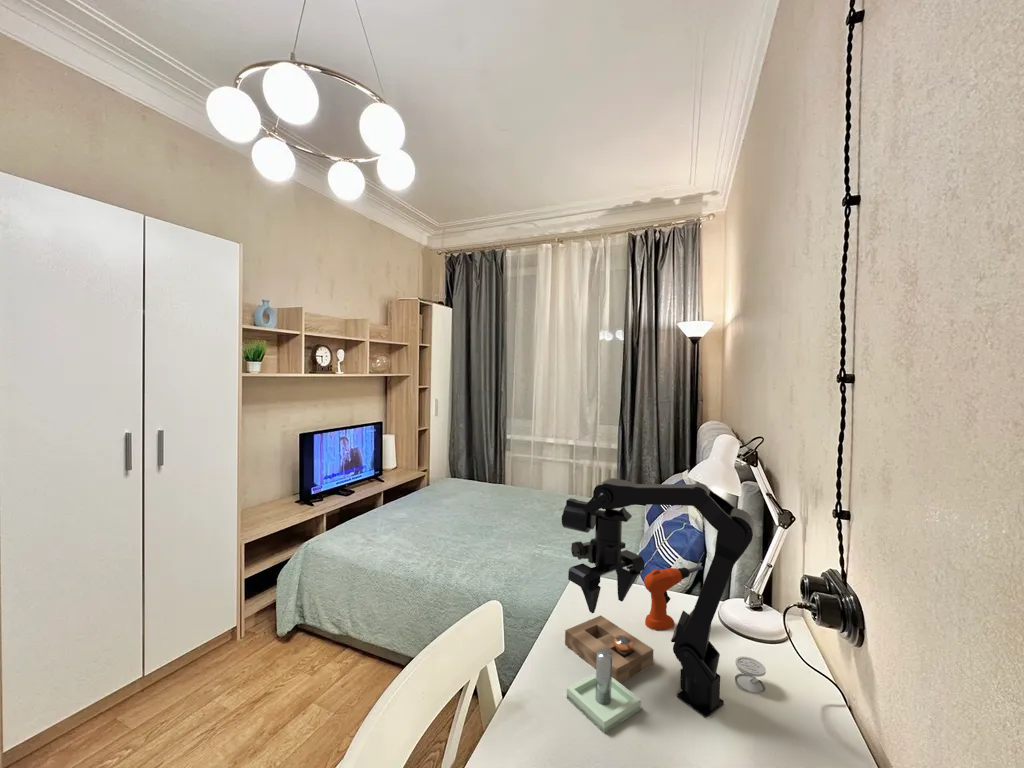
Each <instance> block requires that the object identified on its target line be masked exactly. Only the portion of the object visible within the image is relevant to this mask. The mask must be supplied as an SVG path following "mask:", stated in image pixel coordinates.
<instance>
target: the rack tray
mask: <svg viewBox="0 0 1024 768" xmlns="http://www.w3.org/2000/svg"><path fill="white" fill-rule="evenodd" d="M595 694H596V672H595V673H593V674H591V675H589V676H587V677H585V678H583V679H581V680H580V681H578V682H576V683H574V684H572V685H570V686H568V687H566V699H567V698H568V699H569V702H571V704H572V705H573V706H575V707H576V708H577V709H578V710H579V711H580V712H581V713H582V714H583V715H584V716H585V717H586V718H587V719H588V720H590V722H592V723H593V725H595V726H596V727H597V728H598V729H599V730H600V731H601V732H602V733H603V734H605V733H606V732H608V731H610V730H611V729H613V728H615V727H616V726H618V725H619V724H621V723H622V722H624V721H625V720H627V719H629V718H630V717H632V716H634V715H635V714H637V712H639V711H641V710H642V709H641V704H642V703H641V701H642V700H641V698H639V697H638V696H637V695H636V694H634V693H633V692H632V691H631V690H629V689H628V688H627V687H626V686H624V685H623V684H622V683H619V682H618V681H616V680H615V679H614V678H613V677H612V685H611V703H610V704H609V705H601V704H599V703H598V702H597V701H596V699H595ZM568 699H567V700H568Z"/></svg>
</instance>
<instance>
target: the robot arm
mask: <svg viewBox="0 0 1024 768" xmlns="http://www.w3.org/2000/svg"><path fill="white" fill-rule="evenodd" d="M635 505H652V506H655V505H656V506H682V507H683V506H685V507H686V506H689V507H693V508H695V509H696V510H697V511H698V512H699V513H700V514H701V515H702V517H703V518H704V519H705V520H706V521H707V522H708V524H709V525H711V527H712V528H714V530H716V531H717V533H716V541H715V546H714V547H715V549H714V554H713V558H712V561H711V563H710V566H709V568H708V571H707V573H706V576H705V579H704V581H703V584H702V587H701V589H700V592H699V595H698V597H697V600H696V603H695V605H694V608H692V610H691V612H690V613H688V612H686V611H685V610H682V612H681V614H680V616H679V620H678V622H677V625H676V627H675V628H674V629H675V630H674V632H673V634H672V637H671V640H670V642H671V643H673V645H672V646H673V647H672V652H673V654H674V657H675V658H676V659H677V660H678V661H679V662H680V665H681V668H680V682H679V683H680V685H679V687H680V688H679V689H680V691H679V692H677V693H676V696H677V698H678V699H679V700H681V701H682V702H684V703H685V704H686V705H688V706H689V707H690V708H692V710H695V711H696V712H697V713H699V714H700V715H702V716H703V717H704V718H708V717H710V716H711V715H712V714H714V713H715V712H716V711H718V710H719V709H720V708H721V707H723V706H725V701H724V700H723V699H722V698H721V675H720V674H719V673H717V671H718V666H719V661H720V656H721V654H720V652H719V650H718V649H716V648H715V646H714V645H713V643H711V641H710V636H711V629H712V622H713V619H714V617H715V614H716V613H717V609H718V606H719V604H720V602H721V599H722V597H723V594H724V591H725V590H726V589H725V588H726V586H727V584H728V582H729V579H730V576H731V573H732V571H733V568H734V566H735V564H736V563H737V562H738V561H739V559H740V558H741V557H742V556H743V554H744V553H745V551H746V550H747V549H748V547H749V545H750V544H751V542H752V540H753V536H754V532H755V531H754V530H755V521H754V519H753V518H752V516H751V514H749V513H748V511H745V510H744V509H741V508H736V507H735V506H733V505H732V504H731V503H730V501H728V500H726V499H725V498H723V497H722V496H720V495H719V494H717V493H716V492H714V491H713V490H711V488H709V487H708V486H707V485H706V484H704V483H699V482H696V483H693V484H690V483H689V484H686V483H683V484H681V483H680V484H677V483H674V484H670V483H669V484H668V483H667V484H666V483H663V484H660V483H657V484H656V483H654V484H653V483H650V484H649V483H643V484H642V483H636V482H635V483H634V482H632V481H628V480H625V479H619V478H613V477H611V478H607V479H606V480H604V481H601V482H600V483H599V484H597V485H596V486H595V487H594V489H593V492H592V497H591V499H589V501H583V500H578V499H575V498H571V497H570V498H568V499H566V503H565V506H564V509H563V511H562V515H561V525H562V527H563V528H565V529H569V530H573V531H578V532H581V533H587V534H588V533H589V532H590V531H591V530H594V529H595V531H594V532H595V534H594V535H595V536H594V537H593V538H591V539H590V540H589V541H585V542H582V541H581V540H580V541H573V542H571V548H570V550H571V556H572V557H573V558H577V560H578V561H579V560H580V561H581V560H586V559H587V562H588V563H590V564H594V567H590V566H589V565H587V564H585V563H580V564H576V565H574V566H570V568H569V569H568V573H567V574H568V575H567V576H568V579H567V580H569V581H570V582H572V583H573V584H575V585H577V586H578V587H580V588H581V591H582V593H583V595H584V598H585V602H586V605H587V608H588V611H589V612H590V613H591V614H594V613H595V611H596V608H597V605H598V600H599V597H600V593H601V587H602V586H600V583H601V576H605V575H607V574H611V573H613V572H616V575H617V576H616V578H617V579H616V580H617V587H616V588H617V599H618V601H620V602H623V601H624V600H625V598H626V596H627V595H628V593H629V591H630V589H631V588H632V586H633V584H634V583H635V581H636V579H637V578H638V577H639V575H641V573H642V571H644V570H645V560H644V558H643V557H642V555H639V554H637V553H634V552H632V551H630V550H628V549H626V543H625V542H623V541H622V535H623V534H622V532H623V531H622V529H623V528H622V527H623V525H622V524H623V523H624V522H625V523H627V522H628V521H630V519H631V518H633V515H632V514H631V513H630V512H629V511H627V509H626V507H629V506H635ZM624 549H625V550H624ZM622 550H623V551H622Z"/></svg>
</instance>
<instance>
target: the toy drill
mask: <svg viewBox="0 0 1024 768" xmlns="http://www.w3.org/2000/svg"><path fill="white" fill-rule="evenodd" d="M703 569H704V566H702V565H700V566H696V567H692V568H687V567H679V568H673V567H669V568H665V569H660V570H658V569H653V570H652V571H651V572H649V573H648V574H646V575H645V577H644V580H643V584H644V587H645V590H647V591H648V592H649V593H650V598H651V600H650V601H651V604H650V605H651V606H650V611H649V614H647V615H646V616H645V620H644V624H645V626H646V628H648V629H650V630H653V631H664V630H669V629H671V628H674V626H675V621H674V619H673V617H672V616H670V615H669V614H668V613H667V612H668V611H667V609H668V607H667V606H668V605H667V604H668V603H669V602H670V600H671V597H670V596H669V595H668V592H667V591H668V590H670V589H671V588H673V587H675V586H677V584H679V583H680V582H682V580H684V579H687V578H689V577H690V575H691V574H692V573H694V572H698V571H700V570H703Z"/></svg>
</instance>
